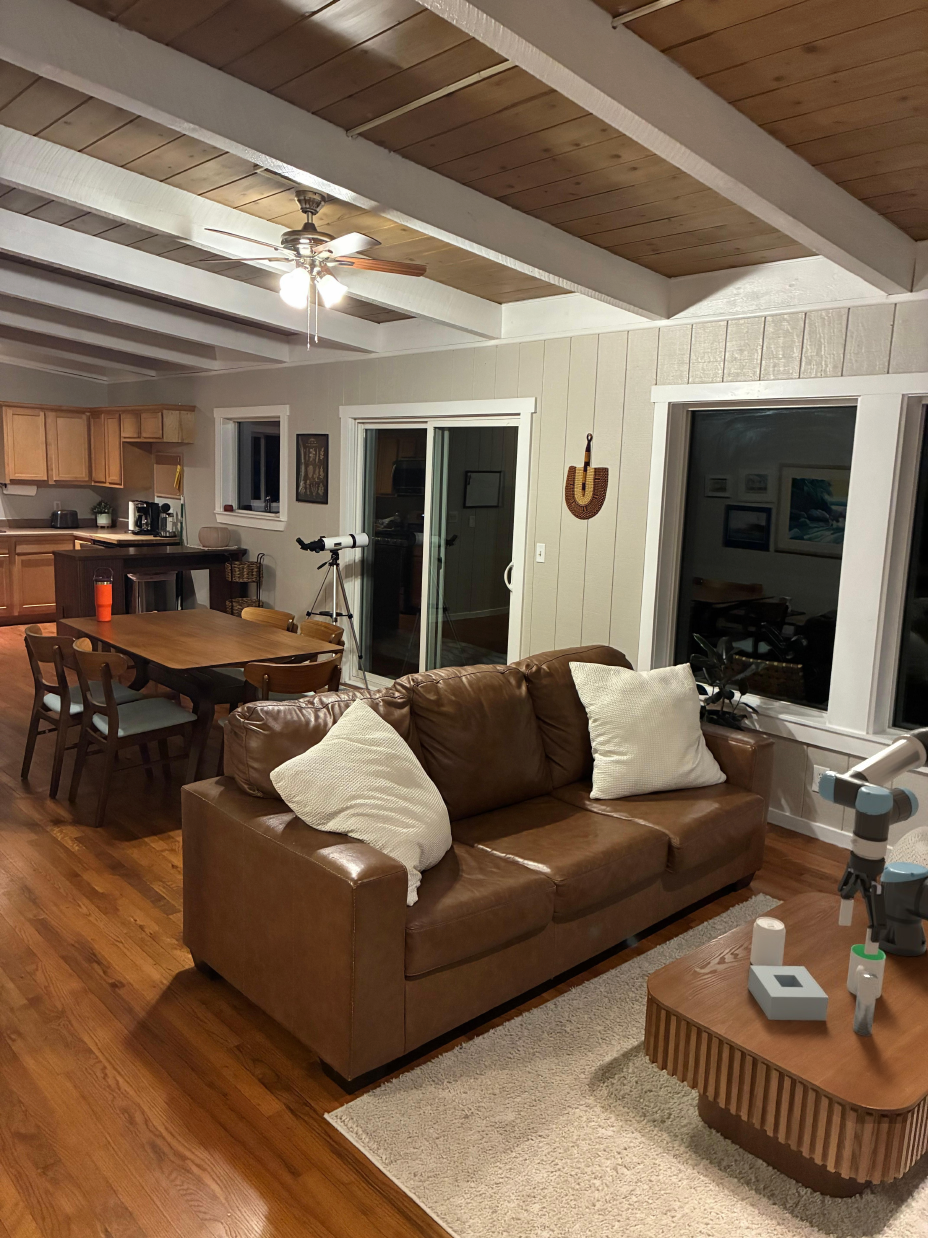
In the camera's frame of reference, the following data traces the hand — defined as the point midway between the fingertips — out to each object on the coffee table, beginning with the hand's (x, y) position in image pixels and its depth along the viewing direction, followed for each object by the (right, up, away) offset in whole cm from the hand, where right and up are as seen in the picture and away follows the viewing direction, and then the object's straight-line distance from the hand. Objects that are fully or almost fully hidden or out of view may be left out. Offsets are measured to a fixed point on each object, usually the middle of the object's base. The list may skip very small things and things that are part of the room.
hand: (857, 939), depth 214 cm
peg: (+1, -22, +1) cm, 22 cm away
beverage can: (-12, -17, +28) cm, 35 cm away
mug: (+8, -20, +17) cm, 27 cm away
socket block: (-13, -20, +11) cm, 26 cm away
